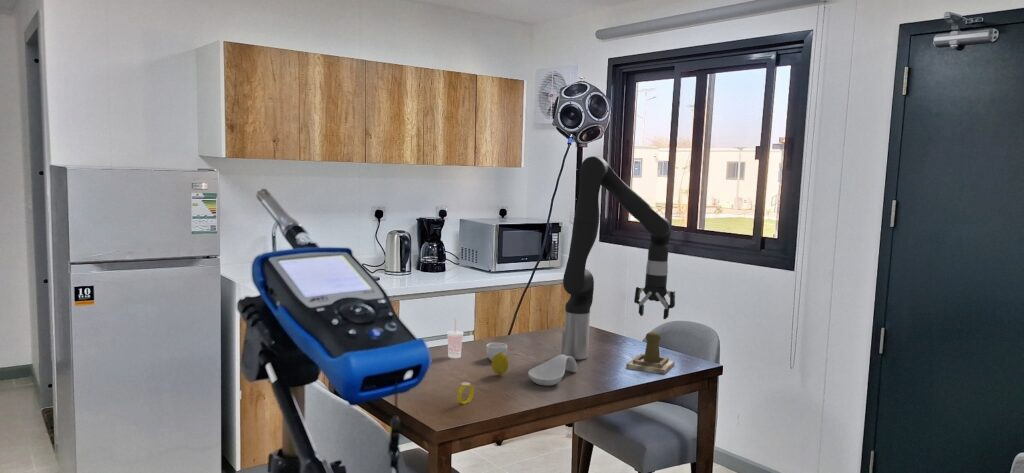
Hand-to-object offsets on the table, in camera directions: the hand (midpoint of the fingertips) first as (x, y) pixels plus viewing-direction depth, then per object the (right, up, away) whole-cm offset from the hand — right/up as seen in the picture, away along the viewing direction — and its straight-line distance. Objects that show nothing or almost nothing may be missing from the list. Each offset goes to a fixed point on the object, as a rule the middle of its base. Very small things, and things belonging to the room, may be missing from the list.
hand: (653, 317), depth 252 cm
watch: (-65, -20, -45) cm, 81 cm away
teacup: (-56, -16, +4) cm, 59 cm away
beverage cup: (-72, -15, +5) cm, 74 cm away
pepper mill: (0, -17, +1) cm, 17 cm away
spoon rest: (-37, -19, -18) cm, 45 cm away
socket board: (-1, -18, +1) cm, 18 cm away
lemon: (-55, -18, -16) cm, 60 cm away
